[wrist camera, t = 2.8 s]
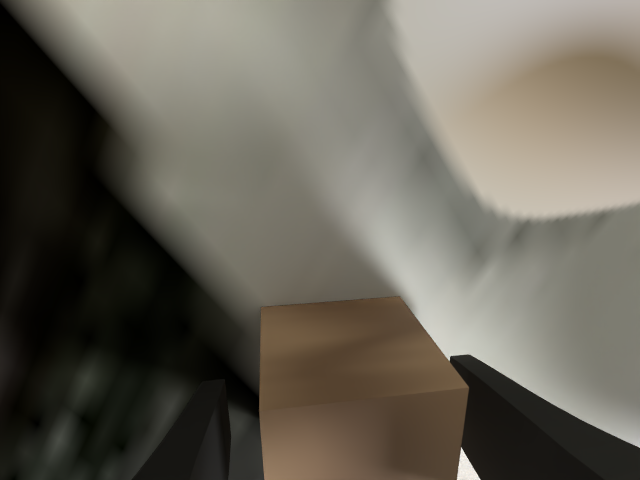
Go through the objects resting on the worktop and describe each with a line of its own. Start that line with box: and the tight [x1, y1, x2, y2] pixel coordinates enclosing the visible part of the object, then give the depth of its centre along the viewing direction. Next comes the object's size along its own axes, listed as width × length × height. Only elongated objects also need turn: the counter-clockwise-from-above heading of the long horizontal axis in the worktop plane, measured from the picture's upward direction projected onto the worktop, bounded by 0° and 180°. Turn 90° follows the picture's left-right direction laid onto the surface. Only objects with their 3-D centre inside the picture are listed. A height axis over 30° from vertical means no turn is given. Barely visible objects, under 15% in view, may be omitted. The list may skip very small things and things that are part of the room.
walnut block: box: [259, 296, 469, 480], centre depth 11 cm, size 4×4×4 cm
